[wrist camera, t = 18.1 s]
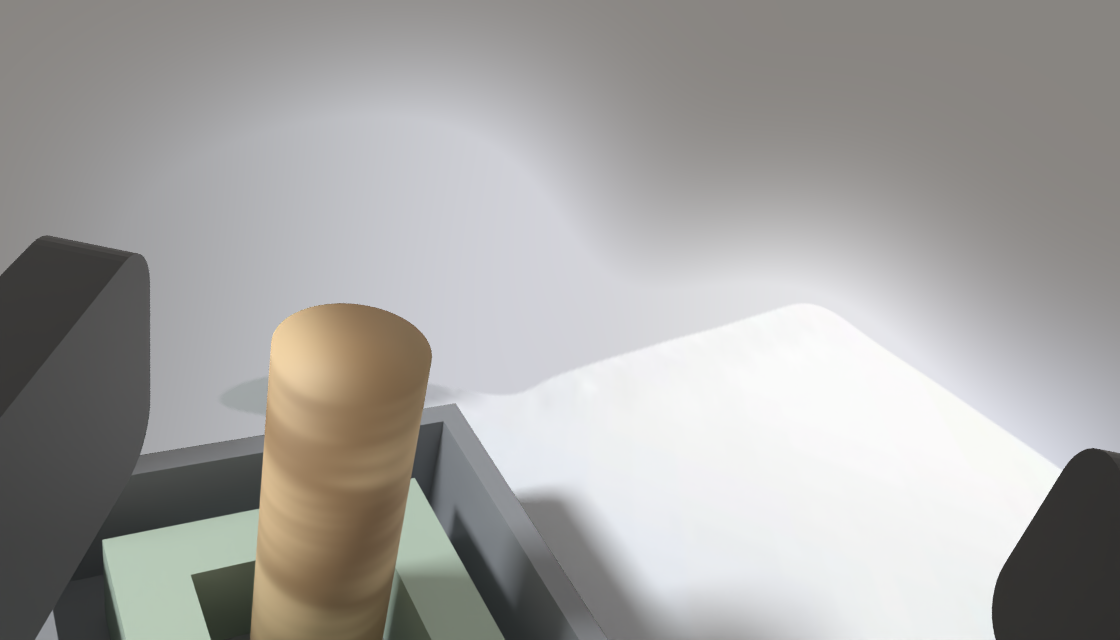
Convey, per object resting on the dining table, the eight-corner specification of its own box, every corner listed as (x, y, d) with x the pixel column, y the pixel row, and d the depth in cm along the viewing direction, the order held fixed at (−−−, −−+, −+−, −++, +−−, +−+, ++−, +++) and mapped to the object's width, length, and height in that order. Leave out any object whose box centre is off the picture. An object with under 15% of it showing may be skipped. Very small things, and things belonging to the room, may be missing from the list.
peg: (348, 635, 41) (398, 296, 33) (388, 731, 38) (456, 384, 30) (231, 667, 39) (252, 312, 30) (265, 771, 36) (298, 409, 27)
